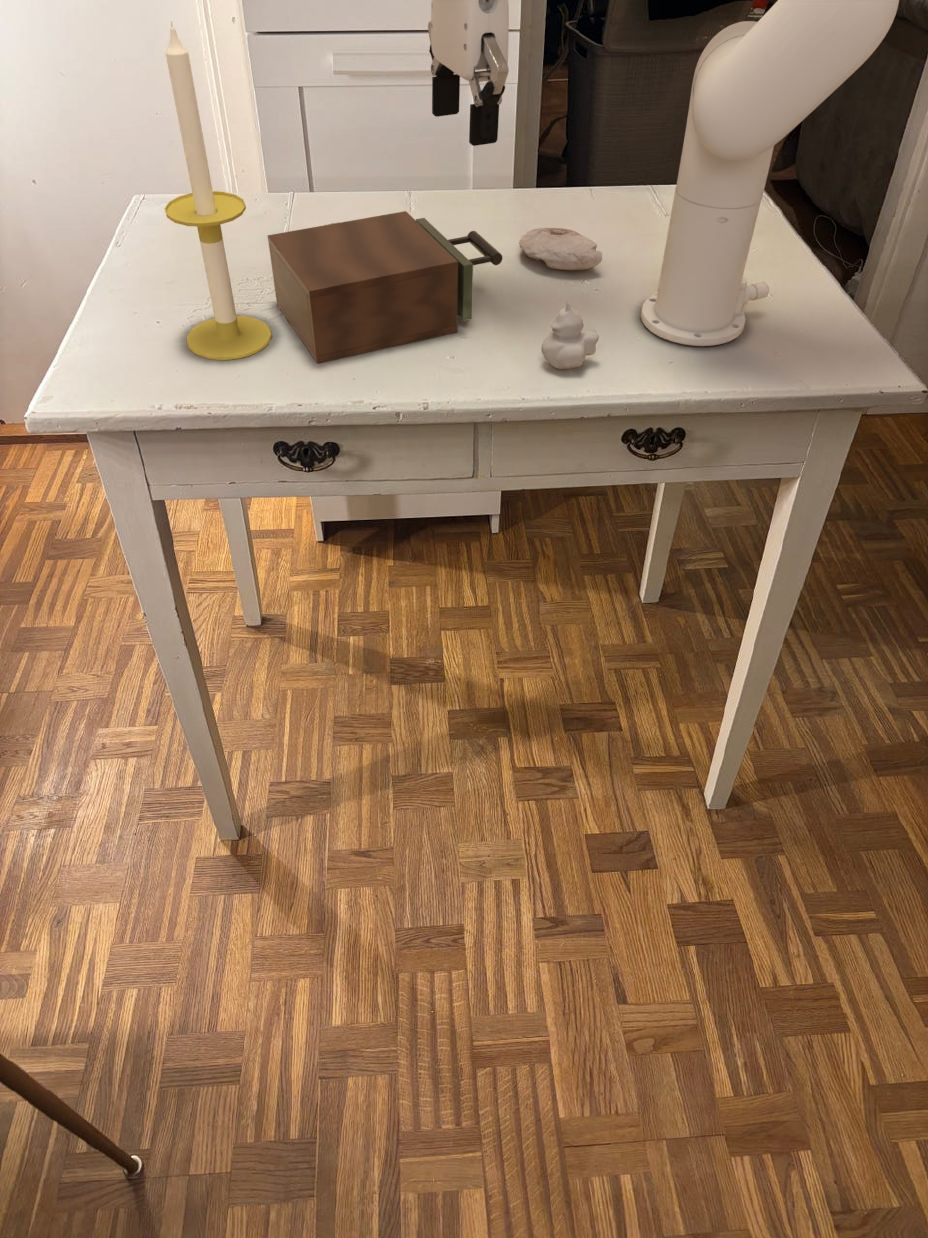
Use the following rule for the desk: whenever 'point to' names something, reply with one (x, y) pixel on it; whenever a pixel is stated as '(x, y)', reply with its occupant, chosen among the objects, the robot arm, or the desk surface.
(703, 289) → the robot arm
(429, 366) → the desk surface
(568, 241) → the fossil
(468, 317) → the drawer
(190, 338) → the candle
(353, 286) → the cabinet
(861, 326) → the desk surface
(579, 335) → the rubber duck
